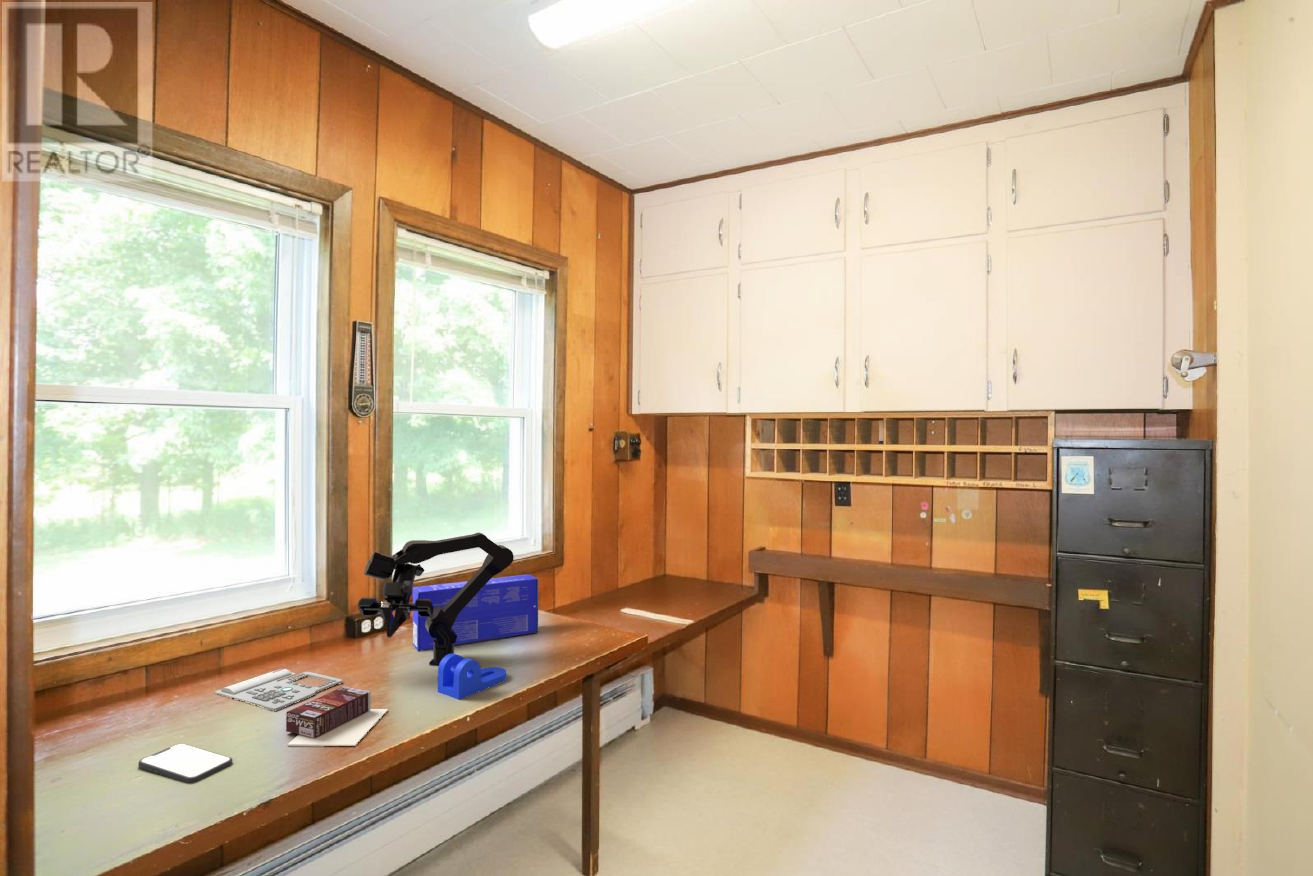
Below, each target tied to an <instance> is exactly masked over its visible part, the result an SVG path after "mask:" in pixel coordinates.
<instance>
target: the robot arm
mask: <svg viewBox="0 0 1313 876" xmlns="http://www.w3.org/2000/svg"><path fill="white" fill-rule="evenodd" d="M477 548H478V549H481V550H482V551H483V552H485V553H486V554H487V555H486V556H485V559H484V560H483V563H482V564H481V567H480V568H479V569H478V570H477V571H476V572H475V573H474V574H473V575H472V577H470V579H469V580H467V581H468V582H467V583H466V584H465V585H464V586H463V587H462V589H461V590H460V591H459V592H458V593H457V594H456V595H455V596H454V597H453V598H452V599H451V600H450V601H449V603H448V604H446V605H444V606H443V607H441V608H440V607H439V605H436V607H435V608H434V610H433V605H432V602H431V600H430V599H416V601H415V604H413V603H410V599H411V596H413V587H414V582H415V579H416V577H421V576H422V575H423V573H424V572H425V569H424V567H422V566H421V563H423V562H426V561H428V560H430V559H433V558H434V557H437V556H440V555H445V554H451V553H455V552H456V553H457V552H461V551H467V550H471V549H477ZM514 560H515V559H514V552H513V551H512V550H511V549H510V548H508V547H506V546H505V545H502V544H497V543H495V542H494V541H493V540H491V539H490V538H488V537H487V535H485V534H484V533H482V532H475V533H472V534H467V535H461V536H455V537H449V538H444V539H439V540H428V539H427V540H425V539H421V540H414V539H413V540H409V541H407V542H405V544H404V545H403V547H402V549H400V550H399V551H397V552H395V553H393V554H392V555H387V554H384V553H381V552H379V551H376V550H374V551H373V552H372V554H371V556H370V558H369V559H368V560H367V563H366V566H365V568H364V572H363V576H366V577H370V578H373V579H377V580H380V581H381V580H382V581H386V580H389V579H390V578H391V577H392V579H391V581H390V582H383V583H384V584H383V588H382V596H383V597H384V598H383V600H384V601H381V602H378V600H377V598H376V597H361V598H360V599H359V600H358V603H357V609H358V611H359V612H360V615H361V616H362V617H363V616H364V617H375V616H376V615H378V613H380V616H381V618H382V620H385V630H386V631H385V632H386V637H387V638H388V639H390V638H392V637H393V636H394V635H395V633H396V632H397V631H398V629H399V628H400V627H401V626H402V625H404V624H403V623H405V622H406V621H407V620H411V612H413V611H419V612H418V614H419V616H420V617H428V618H427V619H426V621H425V627H426V630H427V631H428V633H429V634H430V636H431V637H433V638H435V640H434V649H432V650H433V652H432V653H433V654H432V655H433V658H432V659H431V660H430V661H429V663H428V664H429V666H433V665H434V666H437V665H438V666H439V664H440V662H441V660H442V659H443V658H444V657H445V656H446V655H448V654H451V653H453V654H455V646H454V643H455V642H456V639H457V635H456V634H455V632H454V631H453V630H452V626H453V625H454V623H455V620H456V618H457V616H458V614H459V613H460V612H461V611H462V610H463V609H464V607H465V606H466V605H467V604H468V603H469V602H470V601H471V600H472V599H473V598H474V597H475V595H476V594H477V593H478V592H479V591H480V590H481V589H482V588H483V587H484V586H485V584H486V583H487V582H488V581H489V580H490V579H493V578H494V576H497V575H499V574H500V573H502V572H503V571H505V569H507V568H508V567H509V566H510V565H512V563H513V562H514ZM415 564H416V565H415ZM393 613H394V614H393Z"/></svg>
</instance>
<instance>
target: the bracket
mask: <svg viewBox="0 0 1313 876" xmlns="http://www.w3.org/2000/svg"><path fill="white" fill-rule="evenodd" d="M437 667H438V668H437V693H440V694H442V695H445V696H447V697H450V698H453V699H455V700H459V701H460V700H463V699H465V698H467V697H469V696H473V695H475V694H477V693H479V692H478V691H480V692H482V691H484V689H485V690H487V689H486V688H488V687H490V688H493V687H495V686H497V685H496V684H498V683H500V682H503V681H504V682H505V681H506V680H507V669H506V668H502V667H499V666H491V667H489V666H487V667H484V668H482V666H481V664H480V662H479V661H477V660H475V659H472V658H469V657H468V658H463V656H461V655H459V654H457V653H454V654H453V653H451V654H448V655H446V656H445V657H444V658H443V659H442V660H441V662H440V664H439V665H438V666H437ZM505 679H506V680H505ZM504 682H503V683H504ZM500 684H501V683H500ZM494 685H495V686H494ZM498 685H499V684H498ZM492 686H493V687H492ZM488 689H489V688H488ZM476 692H477V693H476ZM474 693H475V694H474ZM466 696H467V697H466ZM464 697H465V698H464Z"/></svg>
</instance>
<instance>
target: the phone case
mask: <svg viewBox="0 0 1313 876" xmlns="http://www.w3.org/2000/svg"><path fill="white" fill-rule="evenodd" d="M231 765H233V758H232V757H231V756H230V757H229V756H226V755H223V754H220V753H218V752H217V753H216V752H213V751H210V750H207V749H203V748H201V747H197V746H194V745H190V744H187V743H177V744H174V745H171V746H169V747H167V748H165V749H162V750H160V751H157V752H155V753H153V754H151V755H148V756H145V757H143V758H141V759H140V760H139V761H138V765H137V766H138V769H140V770H144V771H146V772H150V773H153V774H155V775H156V774H157V775H160V776H163V777H167V778H170V779H173V780H176V781H180V782H183V783H186V784H191V783H196V782H199V781H201V780H203V779H205V778H207V777H209V776H211V775H213V774H215V773H218V772H219V771H222V770H223V769H226V768H227V767H230V766H231ZM221 769H222V770H221ZM202 778H203V779H202Z"/></svg>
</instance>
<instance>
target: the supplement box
mask: <svg viewBox="0 0 1313 876" xmlns="http://www.w3.org/2000/svg"><path fill="white" fill-rule="evenodd" d="M371 694H372V693H371V691H370V690H364V689H358V688H352V687H349V686H340V687H339V688H337V689H335V690H332V691H331V692H330V691H329V692H328V693H326V694H324V695H321V696H319V697H317V698H314V699H312V700H310V701H308V702H306V703H304V704H301V705H299V706H297V707H294V708H293V709H290V710H288V711H286V719H285V720H286V722H285V727H286V728H285V732H286V733H293V734H297V735H299V734H301V735H305V736H309V737H312V738H316V737H318V736H320V735H322V734H324V733H326V732H328V731H330V730H332V729H334V728H336V727H338V726H340V725H342V724H344V723H346V722H348V721H350V720H352V719H354V718H356V717H358V716H360V715H362V714H364V713H366V712H368V711H370V709H371V703H372V701H371V697H372V696H371Z"/></svg>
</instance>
